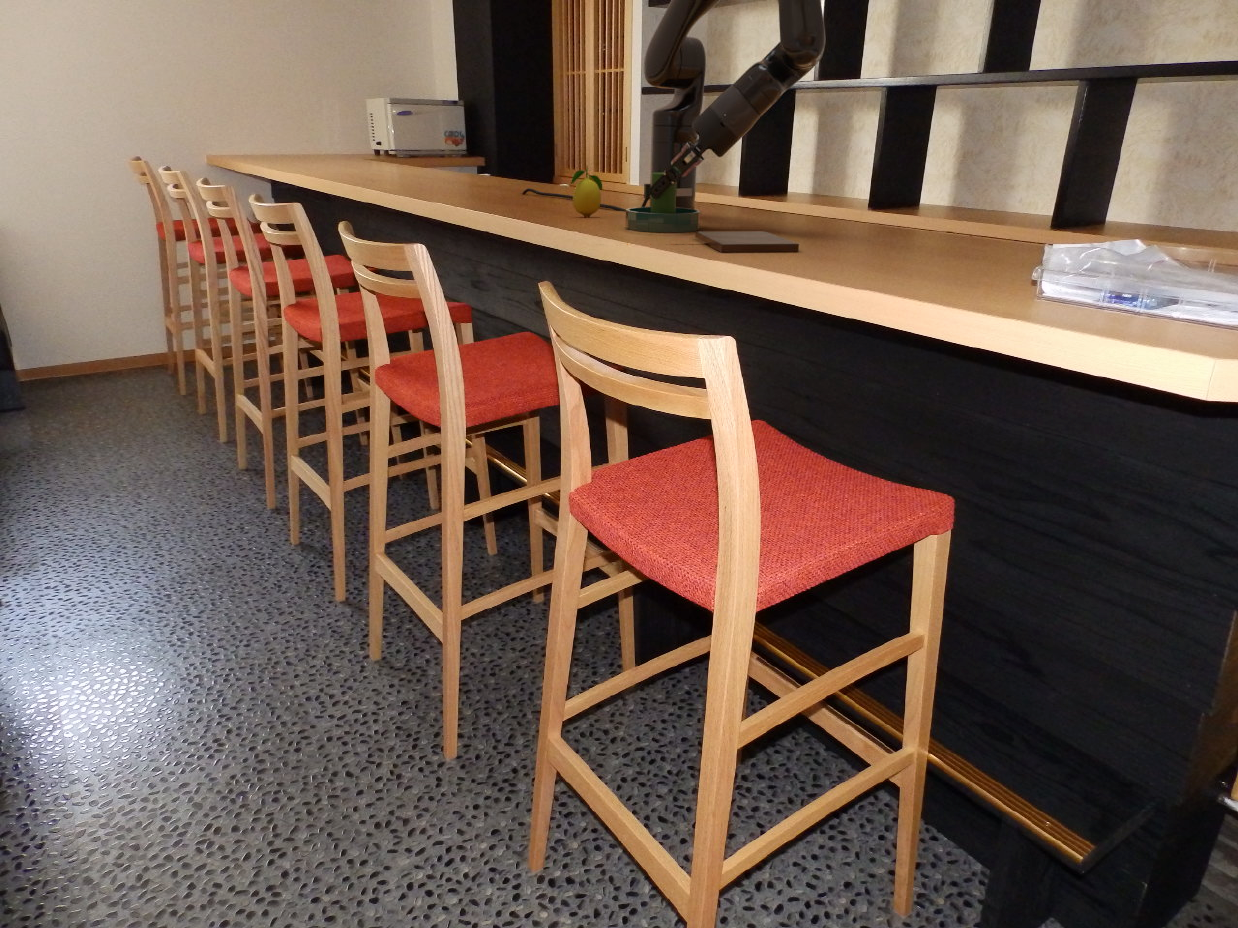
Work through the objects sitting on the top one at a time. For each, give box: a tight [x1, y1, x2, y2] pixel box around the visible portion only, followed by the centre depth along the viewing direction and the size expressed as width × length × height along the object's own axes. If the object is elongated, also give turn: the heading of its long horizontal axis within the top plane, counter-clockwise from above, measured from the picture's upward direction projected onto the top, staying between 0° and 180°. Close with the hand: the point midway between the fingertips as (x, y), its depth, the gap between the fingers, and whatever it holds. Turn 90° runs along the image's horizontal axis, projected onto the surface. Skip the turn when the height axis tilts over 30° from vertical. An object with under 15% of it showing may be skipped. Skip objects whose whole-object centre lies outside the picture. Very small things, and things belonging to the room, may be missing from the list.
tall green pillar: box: [651, 172, 677, 214], centre depth 148 cm, size 4×4×8 cm
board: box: [695, 230, 800, 253], centre depth 132 cm, size 16×12×1 cm
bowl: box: [624, 206, 702, 234], centre depth 149 cm, size 13×13×4 cm
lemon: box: [570, 165, 603, 218], centre depth 165 cm, size 7×6×10 cm
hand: (652, 194), depth 148 cm, fingers closed on tall green pillar, 4 cm apart
